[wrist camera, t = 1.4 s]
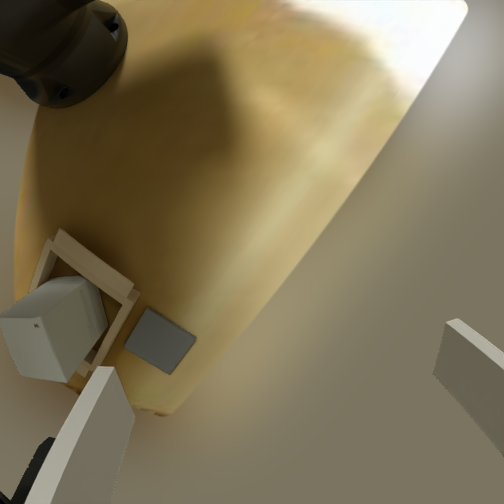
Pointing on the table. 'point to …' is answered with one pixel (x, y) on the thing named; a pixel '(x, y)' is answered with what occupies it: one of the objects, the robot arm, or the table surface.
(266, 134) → the table surface
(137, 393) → the table surface
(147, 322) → the coaster
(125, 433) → the robot arm
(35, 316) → the supplement box
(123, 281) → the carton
